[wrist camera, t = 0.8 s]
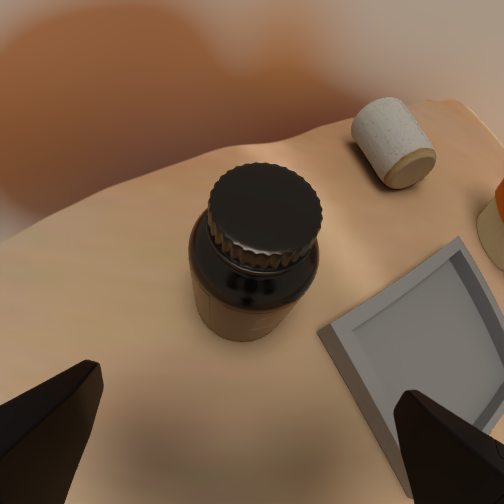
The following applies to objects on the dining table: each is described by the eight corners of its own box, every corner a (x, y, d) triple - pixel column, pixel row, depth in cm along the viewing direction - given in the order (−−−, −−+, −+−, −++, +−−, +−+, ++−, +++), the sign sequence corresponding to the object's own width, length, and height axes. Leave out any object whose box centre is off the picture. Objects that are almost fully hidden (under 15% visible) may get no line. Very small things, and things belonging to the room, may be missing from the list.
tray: (509, 378, 22) (526, 373, 19) (408, 497, 16) (427, 503, 14) (443, 248, 28) (458, 235, 25) (316, 332, 22) (330, 323, 20)
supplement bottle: (285, 261, 25) (339, 158, 14) (283, 345, 21) (357, 291, 11) (200, 252, 24) (198, 138, 13) (189, 337, 21) (169, 274, 10)
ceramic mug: (375, 197, 29) (412, 148, 23) (340, 142, 33) (365, 91, 26) (433, 188, 32) (467, 149, 26) (400, 141, 36) (426, 100, 29)
